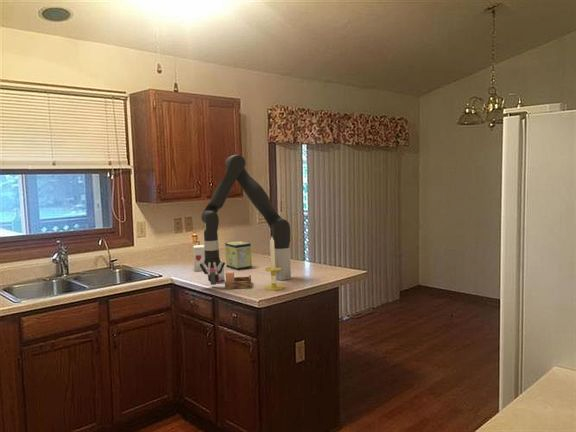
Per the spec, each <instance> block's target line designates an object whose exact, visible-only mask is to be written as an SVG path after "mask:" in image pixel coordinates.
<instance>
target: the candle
mask: <svg viewBox="0 0 576 432" xmlns="http://www.w3.org/2000/svg"><path fill="white" fill-rule="evenodd" d="M269 246H270V247H269V248H270V249H269V251H270V267H266V268H265V269H264V271H266V272H270V280H271V284H270V285H266V286H264V289H265V290H266V291H280V290H283V289H284V288H285V287H284V285H281V284H277V280H276V271H279V270H281V268H280V267H275V250H274V236H271V238H270V240H269Z"/></svg>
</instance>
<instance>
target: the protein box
mask: <svg viewBox="0 0 576 432" xmlns="http://www.w3.org/2000/svg"><path fill="white" fill-rule="evenodd" d="M224 246H225V266H226V268H229V269H231V270H234V271H242V270H247V269H252V268H253V264H252V263H253V262H252V248H251V247H252V245H251V243H250V242H245V241H231V242H225V245H224Z"/></svg>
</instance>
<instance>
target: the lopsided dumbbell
mask: <svg viewBox="0 0 576 432" xmlns="http://www.w3.org/2000/svg"><path fill="white" fill-rule="evenodd" d="M234 277H235V270H228V271H227V270H226V271H225V282H234ZM210 278H211V282H210V286H212V285H214V286H215V285H222V284H223V285H225V282H223V281H221V282H216V280H215V272H211V273H210Z"/></svg>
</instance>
